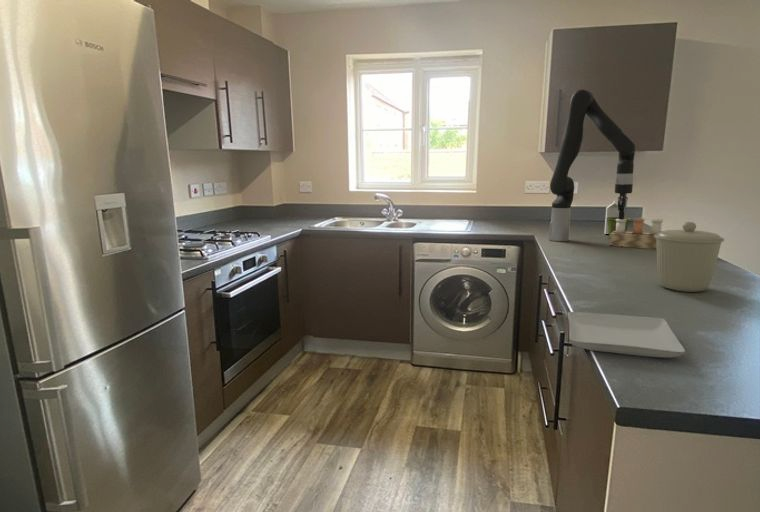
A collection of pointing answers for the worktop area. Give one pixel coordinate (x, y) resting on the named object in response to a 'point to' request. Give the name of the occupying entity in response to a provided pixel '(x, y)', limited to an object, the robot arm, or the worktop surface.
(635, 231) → the terracotta plug
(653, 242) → the woven basket
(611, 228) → the plant pot
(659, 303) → the worktop surface
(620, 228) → the cream plug left
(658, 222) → the cream plug right
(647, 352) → the salad plate
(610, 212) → the milk carton
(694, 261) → the canister
